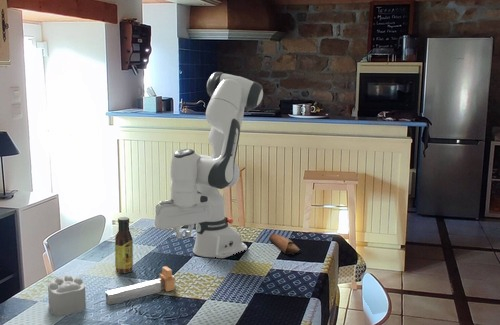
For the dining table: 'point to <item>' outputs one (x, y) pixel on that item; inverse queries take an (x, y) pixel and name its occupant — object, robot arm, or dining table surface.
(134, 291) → the bar
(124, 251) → the sauce bottle
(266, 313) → the dining table surface
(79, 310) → the lumpy-topped squat cylinder
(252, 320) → the dining table surface
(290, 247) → the brown tapered cylinder
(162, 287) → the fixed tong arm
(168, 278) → the collar
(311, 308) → the dining table surface
